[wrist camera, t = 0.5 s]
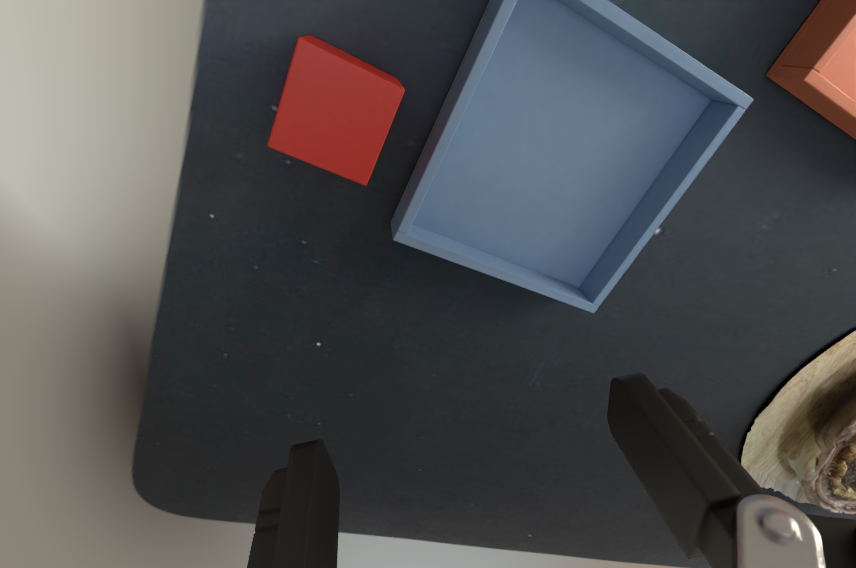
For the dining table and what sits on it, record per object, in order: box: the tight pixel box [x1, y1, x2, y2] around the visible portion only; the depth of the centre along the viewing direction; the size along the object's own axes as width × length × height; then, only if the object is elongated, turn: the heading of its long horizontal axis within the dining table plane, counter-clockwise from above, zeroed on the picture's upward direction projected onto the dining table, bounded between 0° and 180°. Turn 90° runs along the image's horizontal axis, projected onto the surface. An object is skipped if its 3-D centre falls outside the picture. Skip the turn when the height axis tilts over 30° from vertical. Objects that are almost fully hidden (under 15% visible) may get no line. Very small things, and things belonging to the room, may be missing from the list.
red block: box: [267, 35, 405, 185], centre depth 20 cm, size 4×4×4 cm
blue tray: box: [391, 0, 754, 313], centre depth 24 cm, size 14×14×2 cm
